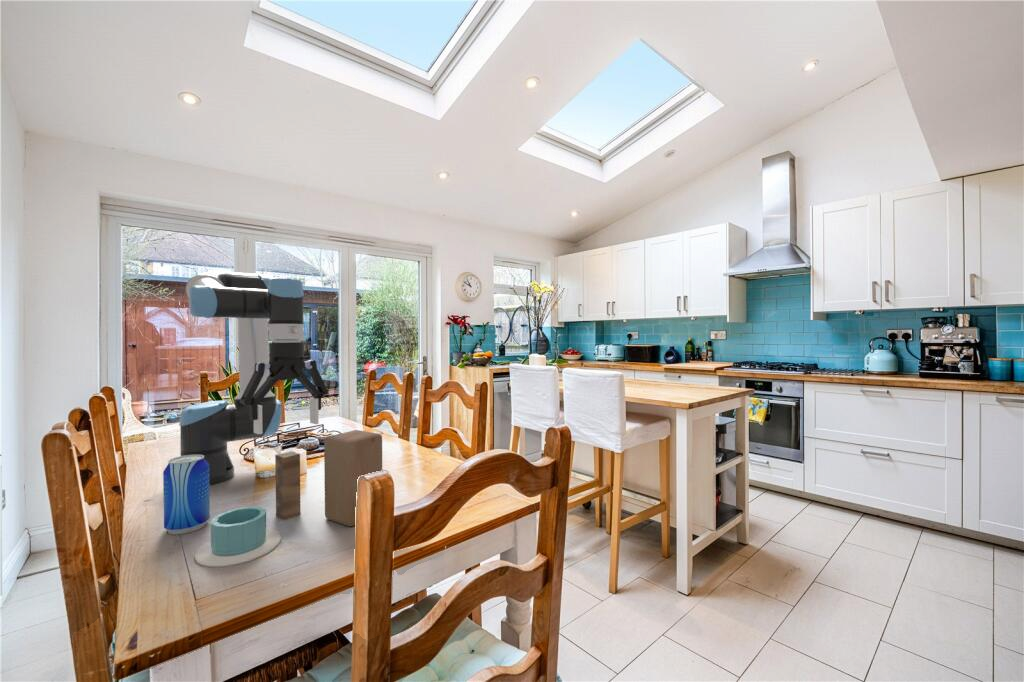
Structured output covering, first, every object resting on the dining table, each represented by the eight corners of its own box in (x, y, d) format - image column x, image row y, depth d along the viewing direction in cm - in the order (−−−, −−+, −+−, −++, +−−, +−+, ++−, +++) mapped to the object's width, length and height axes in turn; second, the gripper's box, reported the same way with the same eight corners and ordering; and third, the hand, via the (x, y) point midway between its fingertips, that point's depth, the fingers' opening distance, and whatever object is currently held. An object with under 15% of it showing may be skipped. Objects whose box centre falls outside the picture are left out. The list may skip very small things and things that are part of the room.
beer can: (172, 522, 101) (171, 455, 100) (214, 517, 104) (213, 451, 103) (157, 538, 93) (156, 465, 93) (203, 532, 96) (202, 461, 96)
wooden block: (384, 513, 106) (383, 433, 106) (350, 529, 97) (350, 442, 97) (357, 505, 111) (356, 428, 111) (323, 519, 102) (322, 436, 102)
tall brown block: (275, 515, 105) (275, 454, 104) (292, 510, 108) (291, 451, 108) (284, 519, 102) (283, 457, 102) (300, 514, 105) (299, 453, 105)
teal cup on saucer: (183, 551, 87) (182, 519, 87) (261, 524, 99) (260, 496, 99) (212, 575, 79) (212, 540, 78) (294, 543, 91) (293, 512, 91)
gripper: (236, 342, 92) (238, 440, 92) (341, 341, 112) (342, 421, 112) (222, 342, 96) (223, 435, 97) (325, 340, 117) (326, 418, 117)
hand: (287, 428), depth 105 cm, fingers open, 13 cm apart
